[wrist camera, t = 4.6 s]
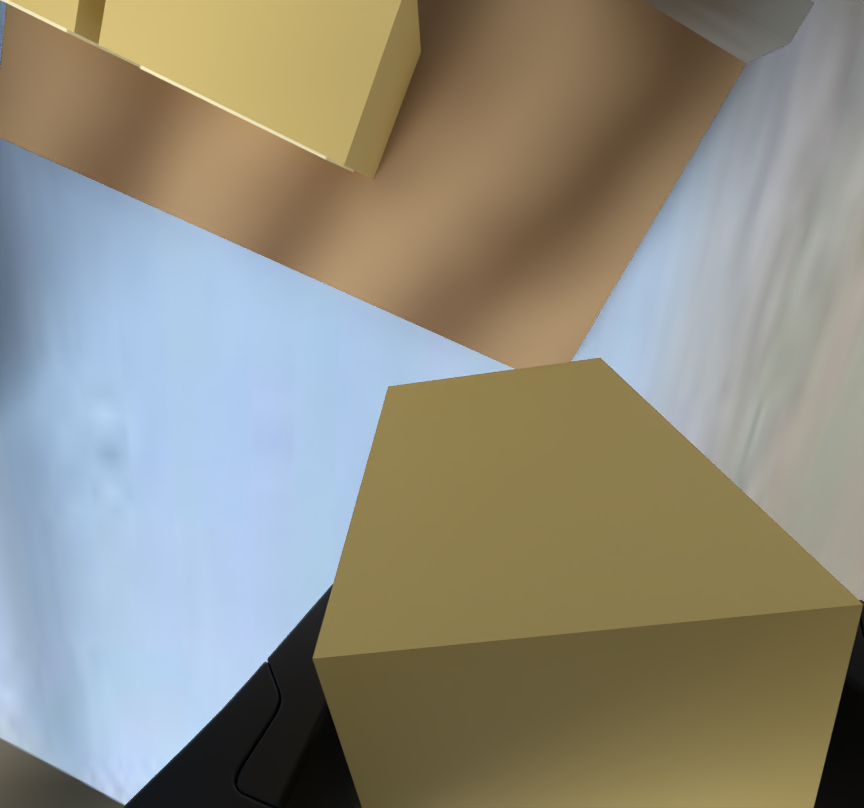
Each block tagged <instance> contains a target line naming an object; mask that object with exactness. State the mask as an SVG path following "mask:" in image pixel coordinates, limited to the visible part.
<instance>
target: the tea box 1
mask: <svg viewBox="0 0 864 808" xmlns="http://www.w3.org/2000/svg"><path fill="white" fill-rule="evenodd" d="M1 1H3V2H5V3H7V4H9V5H11V6H14V7H16V8H18V9H20V10H22V11H24V12H26V13H28V14H30V15H32V16H34V17H36V18H38V19H40V20H42V21H44V22H46V23H48V24H50V25H52V26H54V27H56V28H58V29H60V30H62V31H64V32H66V33H69V34H71V35H73V36H75V37H77V38H79V39H81V40H83V41H85V42H87V43H89V44H92V45H94V46H96V47H98V48H100V49H102V50H104V51H106V52H108V53H110V54H112V55H115V56H117V57H119V58H121V59H123V60H125V61H127V62H129V63H131V64H133V65H136V66H138V67H140V66H141V65H139V64H137V63H135V62H133V61H131V60H129V59H127V58H125V57H123V56H121V55H119V54H117V53H115V52H113V51H111V50H109V49H107V48H105V47H102V46H100V45H99V39H100V32H101V26H102V20H103V14H104V8H105V2H106V0H1Z"/></svg>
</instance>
